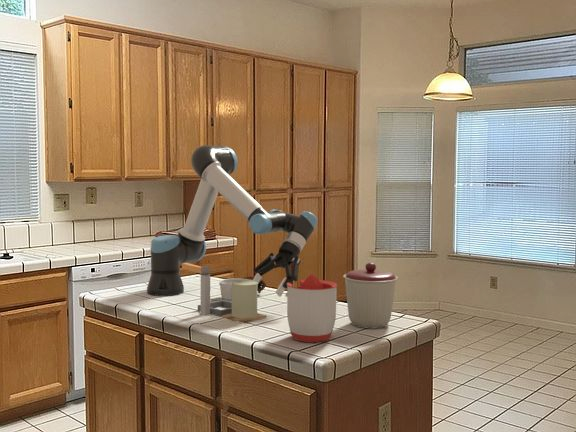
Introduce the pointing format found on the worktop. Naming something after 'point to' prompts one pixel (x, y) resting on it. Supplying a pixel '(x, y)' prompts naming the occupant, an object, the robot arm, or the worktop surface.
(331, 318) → the citrus juicer
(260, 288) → the pottery mug
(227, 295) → the ramekin
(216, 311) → the socket
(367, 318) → the canister
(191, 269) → the orange bar
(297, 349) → the worktop surface
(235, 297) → the can
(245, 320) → the plate
